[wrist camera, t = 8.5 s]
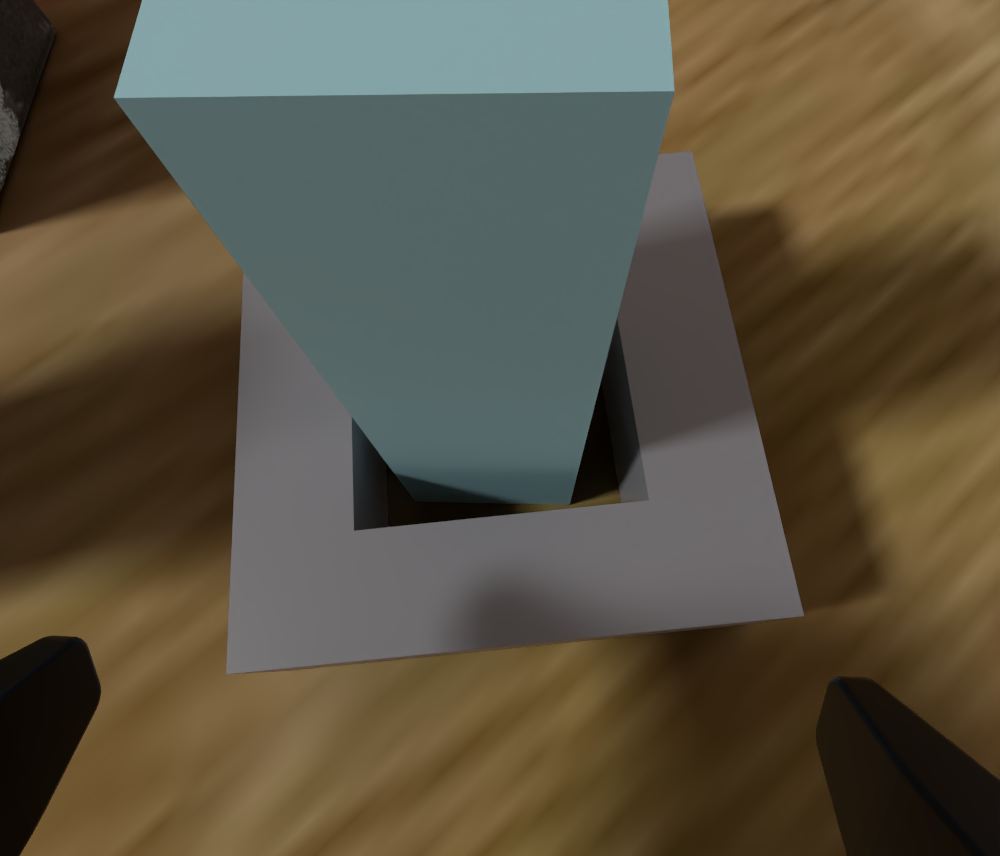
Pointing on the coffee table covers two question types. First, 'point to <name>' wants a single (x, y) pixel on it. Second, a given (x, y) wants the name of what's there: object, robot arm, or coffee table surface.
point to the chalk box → (19, 69)
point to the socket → (527, 536)
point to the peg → (424, 204)
